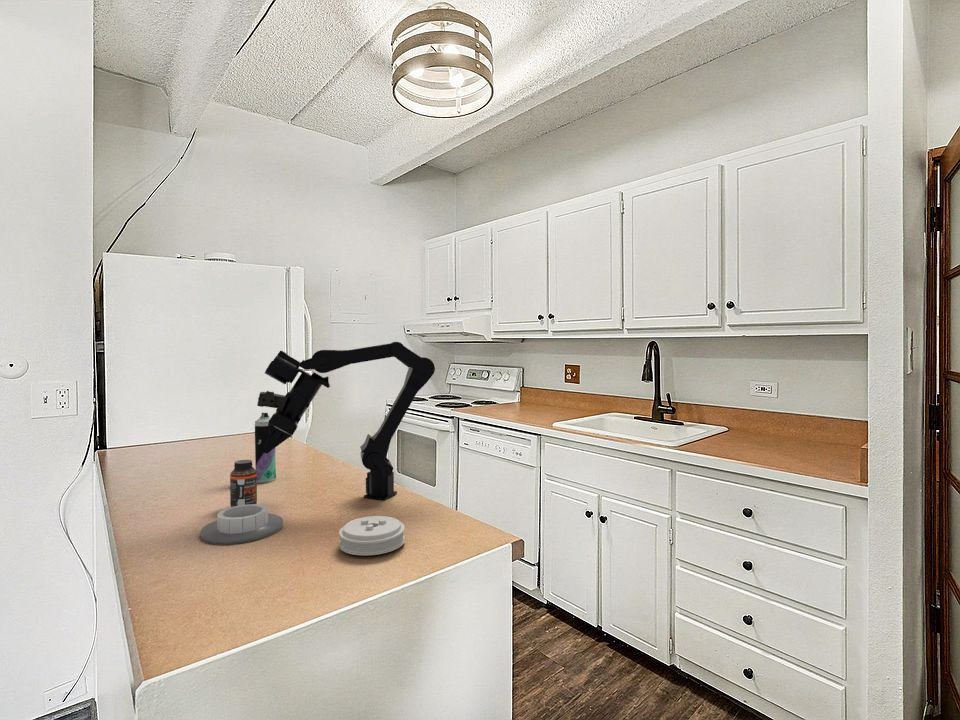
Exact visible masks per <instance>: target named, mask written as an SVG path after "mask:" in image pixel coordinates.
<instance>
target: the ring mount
mask: <svg viewBox="0 0 960 720" xmlns="http://www.w3.org/2000/svg"><path fill="white" fill-rule="evenodd" d="M283 527H284V519H283V517H282V516H281V515H278V514H274V513H269V508H268V507H267V506H266V505H264V504H259V503H257V504H248V505H239V506H234V507H231V506H230V507H227V508H225V509H222V510H220V511H219V512H218V513H217V514H216V520H213V521H212V522H209V523H207V524H206V525H205V526H203V527H202V528H201V530H200V539H201V538H202V539H201V540H202V541H203V540H204V541H203V542H205V543H207V542H208V544H211V543H212V545H221V546H222V545H237V544H239V545H240V544H244V543H245V544H246V543H249V542H250V543H251V542H255V541H259V540H263V539H265V538H267V537H270V536H272V535H275V534H276V533H278V532H279V531H281V530H282V528H283Z"/></svg>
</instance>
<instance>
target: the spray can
mask: <svg viewBox="0 0 960 720" xmlns="http://www.w3.org/2000/svg"><path fill="white" fill-rule="evenodd" d="M270 418H271V417H270V415H269V413H268V412H261V415H260V417H259V418H258V419H257V420H255V421H254V452H255V454H254V455H255V456H254V457H255V458H254V459H255V470H256V472H257V483H258V484H267V483H266V482H268V483H271V482H272V481H273V482H275V481H276V480H277V466H276V465H277V463H276V462H277V461H276V447H275V448H274V449H273V450H271V451H270V452H269V453H267V454H266V453H264V452H263V450H264V447H265V445H266V442H267V440H268V437H269V434H270V428H269V426H268V423H269V420H270Z"/></svg>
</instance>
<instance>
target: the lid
mask: <svg viewBox="0 0 960 720" xmlns="http://www.w3.org/2000/svg"><path fill="white" fill-rule="evenodd" d="M405 528H406V527H405V524H404V523H403V522H401V521H400V520H398V519H397V518H396V517H395V518H394V517H393V516H392V517H391V516H384V515H373V516H372V515H371V516H363V517H359V518H356V519H352V520H351V521H348V522H347V523H345V524H344V526H342V527H341V528H340V529H339V532H338V536H339V537H340V541H339V546H338V548H339V549H340V550H341V551H342V552H344V553H346V554H350V555H355V556H376V555H382V554H386V553H390V552H392V551H395V550H397V549H399V548H400V547H402V546H403V545H404V543H405V542H406V538H405V536H404V532H405Z"/></svg>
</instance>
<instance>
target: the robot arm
mask: <svg viewBox="0 0 960 720" xmlns="http://www.w3.org/2000/svg"><path fill="white" fill-rule="evenodd" d="M387 358H388V359H389V358H395V359H396V360H398V361H399V362H401V363H402V364H403V365H404V366H406V367H407V373H406V374H405V379H404V382H403V385H402V388H401V389H400V391H399V393H398V394H397V396H396V398H395V400H394V402H393V404H392V405H391V407H390V409H389V410H388V412H387V413H386V414H387V415H386V416H385V417H384V419H383V421H382V423H381V425H380V426H379V428H378V430H377V431H376V432H375V433H374V434H373V435H371V434H370V433H369V434H368V433H367V435H366V438H365V440H364V442H363V444H362V445H361V446H360V447H359V448H360V460H361V463H362V465H363V466H364V468H366V469H368V470H369V471H367V472H366V478H365V494H364V495H363V498H365V499H371V500H372V499H374V500H382V501H386V500H387V499H389V498H392V497H393V496H395V495H397V494H398V491H397V490H395V476H394V475H395V471H394V466H393V465H392V462H391V461H390V459H389V458H388V457H387V455H388V452H389V449H390V444H391V441H392V439H393V437H394V435H395V433H396V431H397V429H398V427H399V426H400V424H401V422H402V420H403V418H404V417H405V415H406V414H407V412H408V409H409V408H410V407H411V404H412V402H413V401H414V399H415V398H416V396H417V394H418V392H419V391H420V390H421V389H422V388H423V387H424V386H425V385H426V384H427V383H429V380H430V379H431V378H432V377H433V376H434V374H435V371H436V366H435V363H434V362H433V360H431V359H430V358H428V357H423V356H420V355H418V354H417V353H415V352H414V351H412V350H410V349H409V348H407V347H406V345H404V344H403V343H402V342H399V341H392V342H391V343H384V344H379V345H378V344H377V345H371V346H366V347H359V348H358V347H357V348H353V349H320V350H318V351H316V352H314V353H313V355H312V357H311V358H308V359H302V361H299V360H297V359H296V358H295V357H292V356H291V355H288V354H287V352H285V351H283V350H280V351H278V353H277V355H275V357H274V358H273V360H271V361H270V363H269V364H268V366H267V368H266V369H265V372H264V374H265V375H266V376H269V377H270V378H272V379H274V380H276V381H277V382H279V383H282V384H283V385H287V383H290V384H292V383H294V384H293V386H292V387H291V389H290V390H289V391H288V392H286V394H285V395H284V394H279V393H278V394H277V393H275V392H274V391H269V390H267V391H261V392H259V394H258V398H257V403H256V404H257V405H256V406H258V407H261V408H263V407H265V408H266V407H267V408H271V409H272V408H273V409H275V412H274V413H273V414H272V415H271V417H270V420H269V423H268V426H269V428H270V434H269V437H268V440H267V442H266V445H265V447H264V450H263V452H264V453H266V454H267V453H269V452H270V451H271V450H273V449H274V448H275V449H276V447H278V446H280V445H281V444H283V442H285V441H286V440H288V439H289V438H291V437H292V436H293V435H294V433H295V432H296V431H297V428H298V426H299V425H298V424H299V423H300V422H301V419H302V417H303V416H304V414H305V412H306V411H307V409H308V408H309V407H310V405H311V404H312V401H313V400H314V398H315V397H316V395H317V394H318V392H319V391H320V388H321V387H322V386H323V387H326V388H328V389H329V388H330V387H331V384H330V380H329V376H324V377H323V376H322V375H320V374H326V373H330V372H333V371H336V370H338V369H341V368H343V367H346V366H349V365H353V364H358V363H365V362H370V361H371V362H372V361H376V360H383V359H387ZM306 370H314V371H315V372H314V371H313V372H312V374H310V373H308V372H307V371H306ZM316 372H317V373H316ZM299 373H301V374H300V375H299ZM318 373H320V374H318ZM298 375H299V376H298ZM297 376H298V378H297V380H296V381H295V379H296V377H297ZM294 381H295V382H294Z"/></svg>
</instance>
